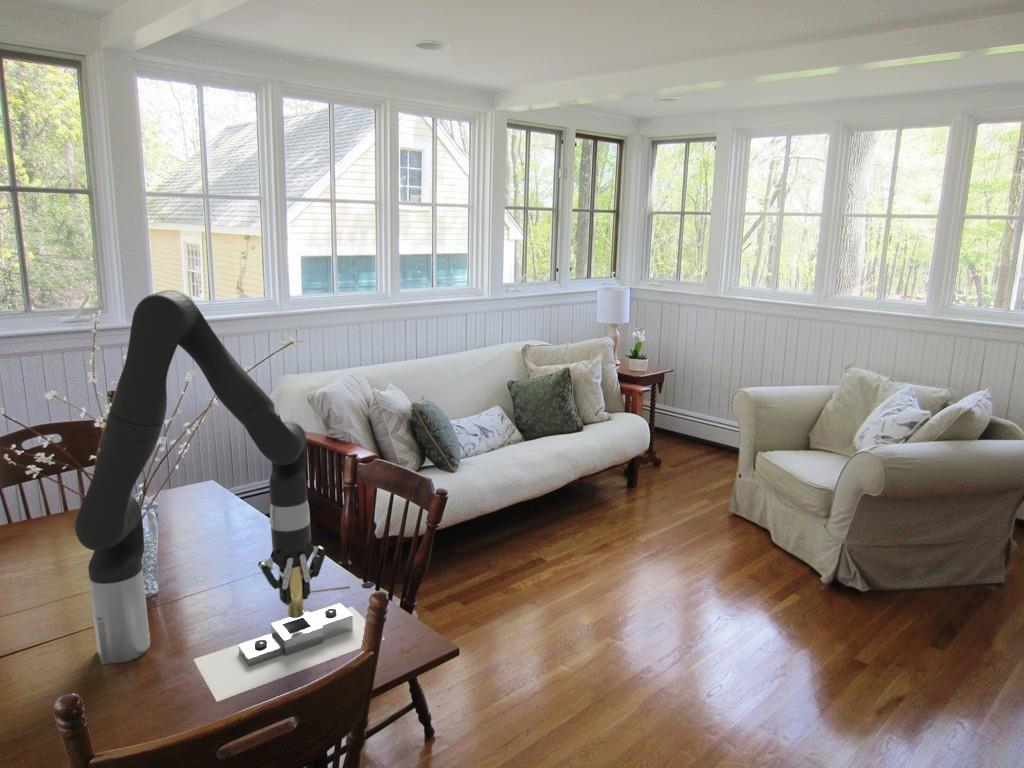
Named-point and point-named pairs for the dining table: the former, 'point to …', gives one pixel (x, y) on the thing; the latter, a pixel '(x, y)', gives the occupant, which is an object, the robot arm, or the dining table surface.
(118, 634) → the robot arm
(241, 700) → the dining table surface
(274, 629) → the slotted stepped fixture
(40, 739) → the dining table surface
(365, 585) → the tactical pry hammer
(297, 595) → the brass pin
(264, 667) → the mat
